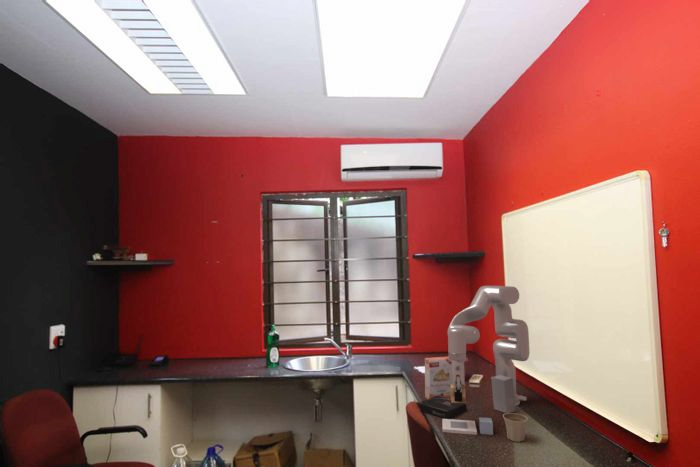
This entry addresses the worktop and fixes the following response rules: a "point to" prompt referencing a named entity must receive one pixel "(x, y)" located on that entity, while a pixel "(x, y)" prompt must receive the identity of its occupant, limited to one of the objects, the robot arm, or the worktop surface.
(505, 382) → the skincare box
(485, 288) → the robot arm
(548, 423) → the worktop surface
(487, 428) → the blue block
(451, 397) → the oak block
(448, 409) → the portable cd player
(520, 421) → the flower pot
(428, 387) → the cracker box
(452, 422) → the board
